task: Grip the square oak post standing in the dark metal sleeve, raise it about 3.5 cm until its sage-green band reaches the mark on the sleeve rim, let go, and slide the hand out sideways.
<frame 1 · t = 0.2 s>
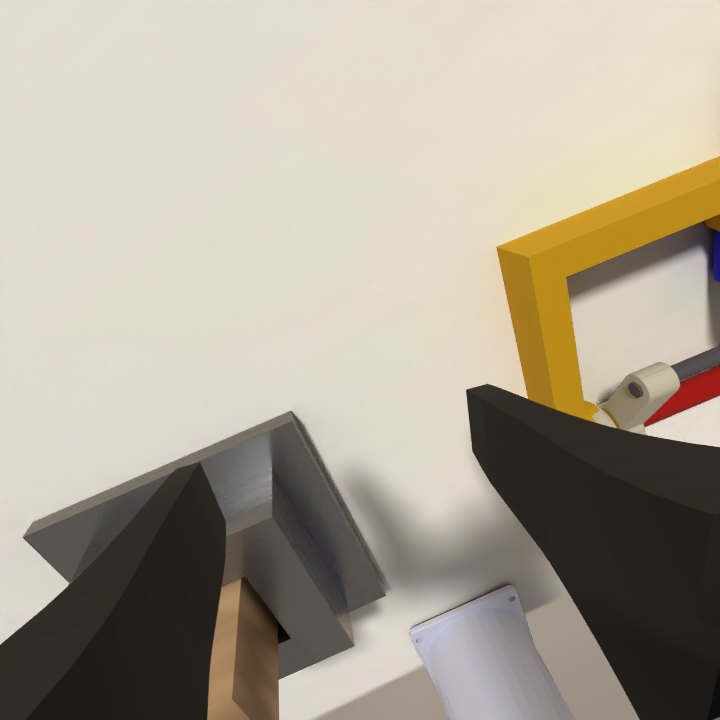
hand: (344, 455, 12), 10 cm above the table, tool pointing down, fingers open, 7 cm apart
metal sleeve: (229, 555, 25), on the table
oak post: (219, 644, 20), point 5 cm above the table, slide at 0.0 cm
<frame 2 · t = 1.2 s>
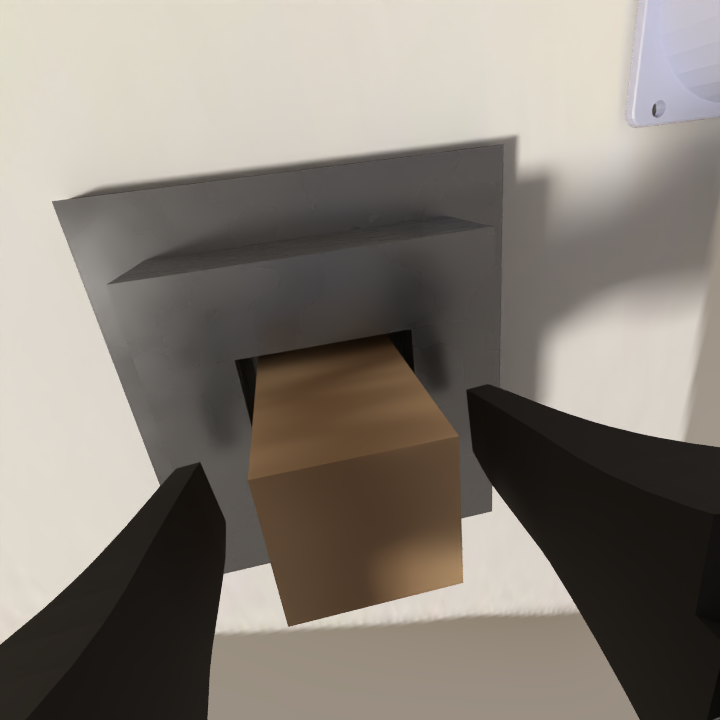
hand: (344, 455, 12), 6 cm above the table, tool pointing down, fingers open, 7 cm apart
metal sleeve: (322, 362, 17), on the table
oak post: (340, 432, 12), point 5 cm above the table, slide at 0.0 cm
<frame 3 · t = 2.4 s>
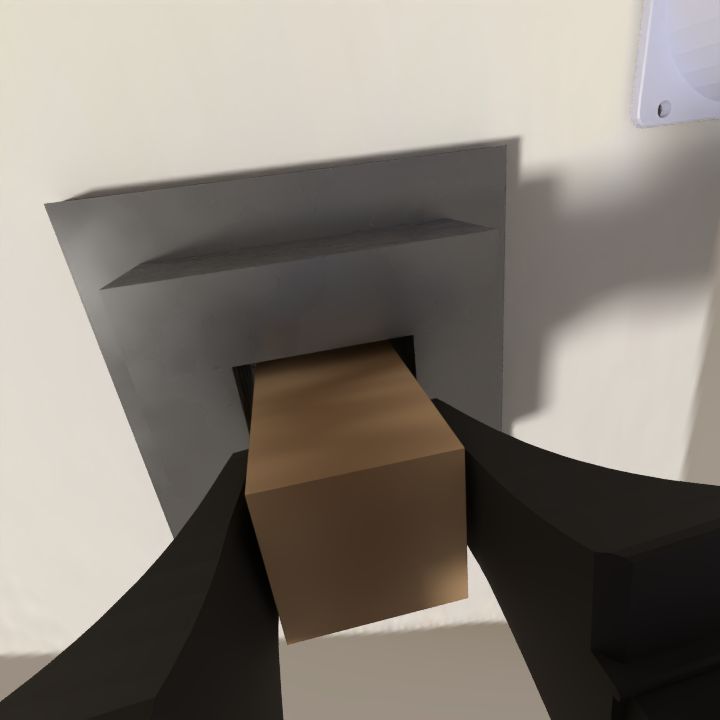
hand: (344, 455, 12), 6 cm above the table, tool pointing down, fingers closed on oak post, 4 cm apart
metal sleeve: (321, 367, 17), on the table
oak post: (340, 441, 12), point 5 cm above the table, slide at 0.0 cm, touching gripper
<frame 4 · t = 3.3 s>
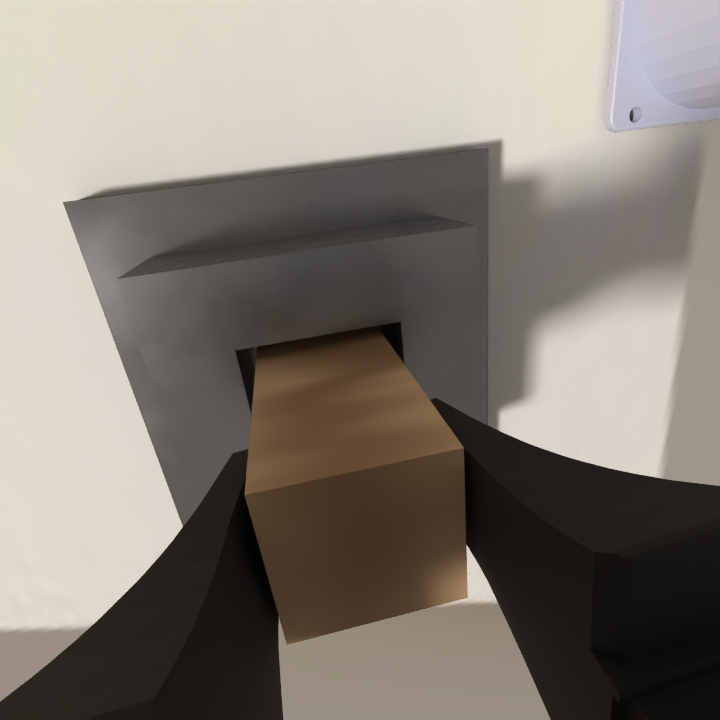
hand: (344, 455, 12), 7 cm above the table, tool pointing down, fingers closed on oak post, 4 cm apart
metal sleeve: (318, 356, 18), on the table
oak post: (340, 441, 12), point 6 cm above the table, slide at 1.2 cm, touching gripper
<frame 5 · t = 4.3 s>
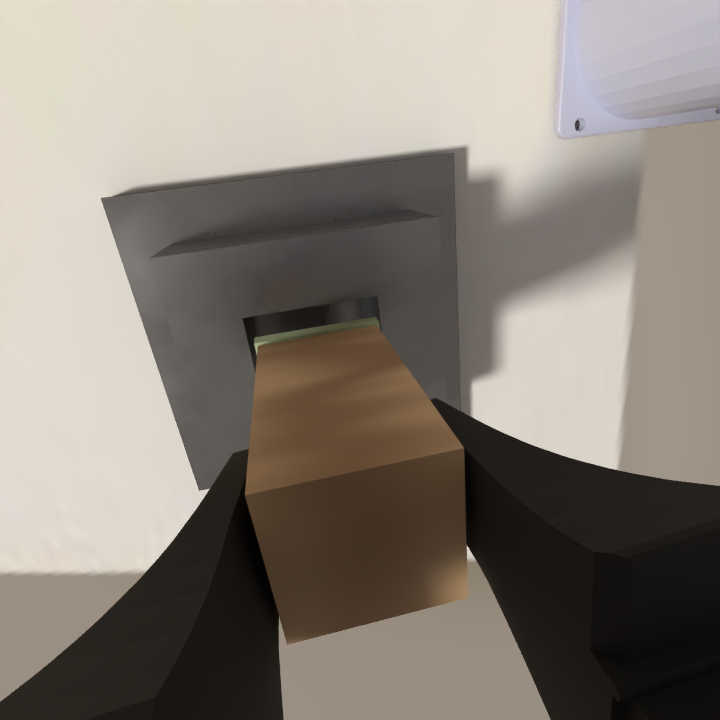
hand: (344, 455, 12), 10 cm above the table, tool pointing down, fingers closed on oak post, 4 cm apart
metal sleeve: (312, 331, 21), on the table
oak post: (340, 441, 12), point 10 cm above the table, slide at 4.5 cm, touching gripper
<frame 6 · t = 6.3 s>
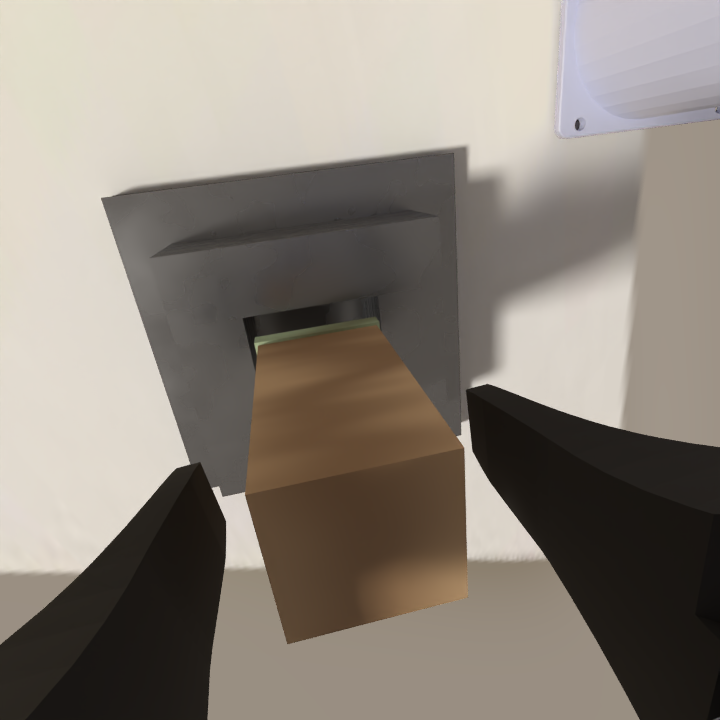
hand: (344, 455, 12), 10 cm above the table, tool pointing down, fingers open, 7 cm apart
metal sleeve: (312, 331, 21), on the table
oak post: (340, 441, 12), point 10 cm above the table, slide at 4.5 cm
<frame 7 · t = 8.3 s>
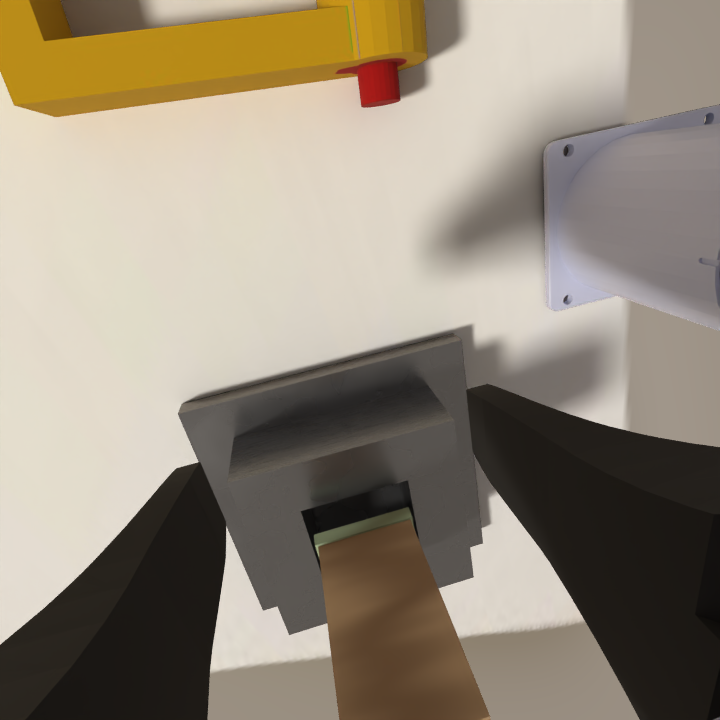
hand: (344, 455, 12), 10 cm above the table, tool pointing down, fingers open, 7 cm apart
metal sleeve: (349, 476, 25), on the table
oak post: (392, 641, 16), point 10 cm above the table, slide at 4.5 cm
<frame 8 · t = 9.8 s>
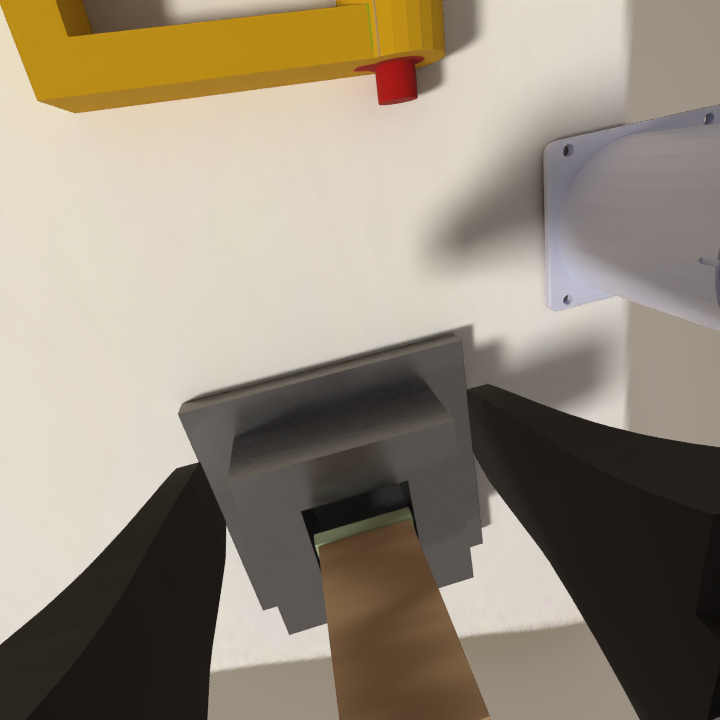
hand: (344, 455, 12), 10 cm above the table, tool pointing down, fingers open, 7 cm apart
metal sleeve: (349, 476, 25), on the table
oak post: (392, 641, 16), point 10 cm above the table, slide at 4.5 cm
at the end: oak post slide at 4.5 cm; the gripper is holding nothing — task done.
